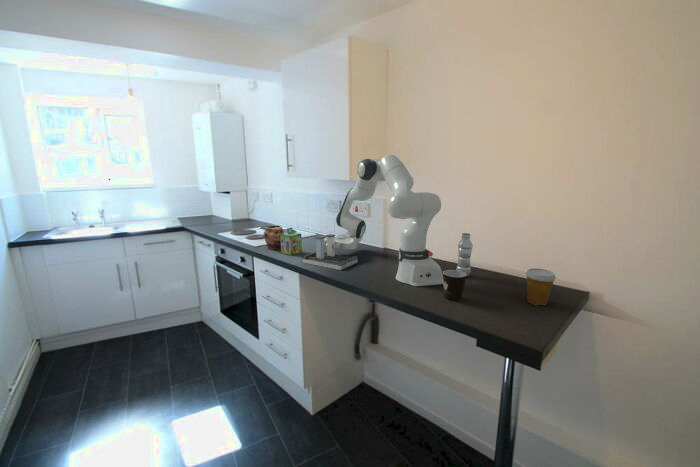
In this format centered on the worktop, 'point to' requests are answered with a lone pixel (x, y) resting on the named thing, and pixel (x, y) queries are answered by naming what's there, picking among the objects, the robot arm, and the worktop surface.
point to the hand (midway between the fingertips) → (329, 246)
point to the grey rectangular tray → (331, 261)
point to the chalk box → (291, 242)
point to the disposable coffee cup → (539, 285)
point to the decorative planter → (273, 236)
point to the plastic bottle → (464, 254)
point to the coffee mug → (453, 284)
